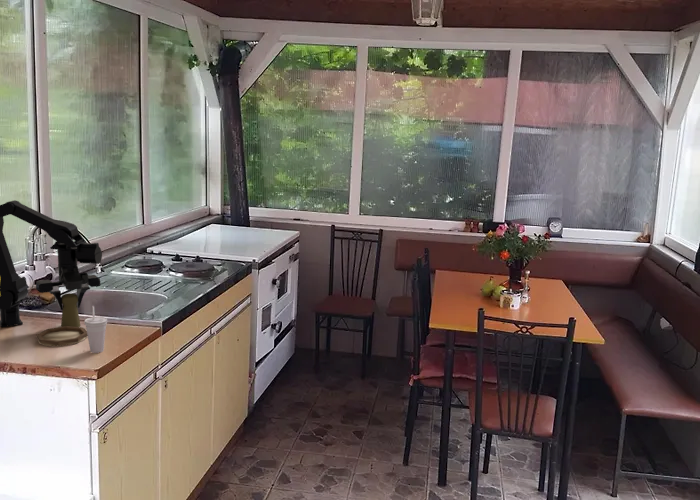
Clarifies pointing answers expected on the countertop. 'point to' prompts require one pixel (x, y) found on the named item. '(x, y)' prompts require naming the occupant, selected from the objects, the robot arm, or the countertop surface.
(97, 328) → the smoothie
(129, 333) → the countertop surface
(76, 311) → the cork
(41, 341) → the tray
